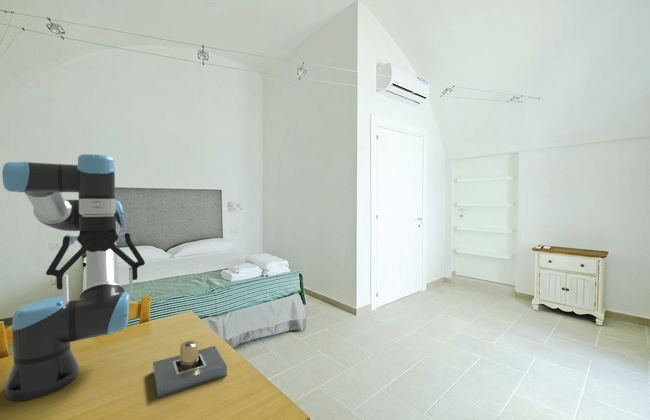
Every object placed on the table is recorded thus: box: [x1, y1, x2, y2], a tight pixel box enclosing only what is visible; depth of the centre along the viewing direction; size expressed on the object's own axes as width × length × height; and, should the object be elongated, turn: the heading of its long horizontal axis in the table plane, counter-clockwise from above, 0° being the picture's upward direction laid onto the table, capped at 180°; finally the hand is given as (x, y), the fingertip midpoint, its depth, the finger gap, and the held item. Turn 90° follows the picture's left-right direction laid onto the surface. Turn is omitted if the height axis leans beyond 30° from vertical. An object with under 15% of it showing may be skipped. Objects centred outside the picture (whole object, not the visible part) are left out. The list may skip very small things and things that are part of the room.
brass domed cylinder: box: [179, 340, 199, 372], centre depth 90 cm, size 5×5×9 cm
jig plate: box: [152, 345, 228, 399], centre depth 90 cm, size 14×18×3 cm
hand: (100, 296), depth 79 cm, fingers open, 13 cm apart
